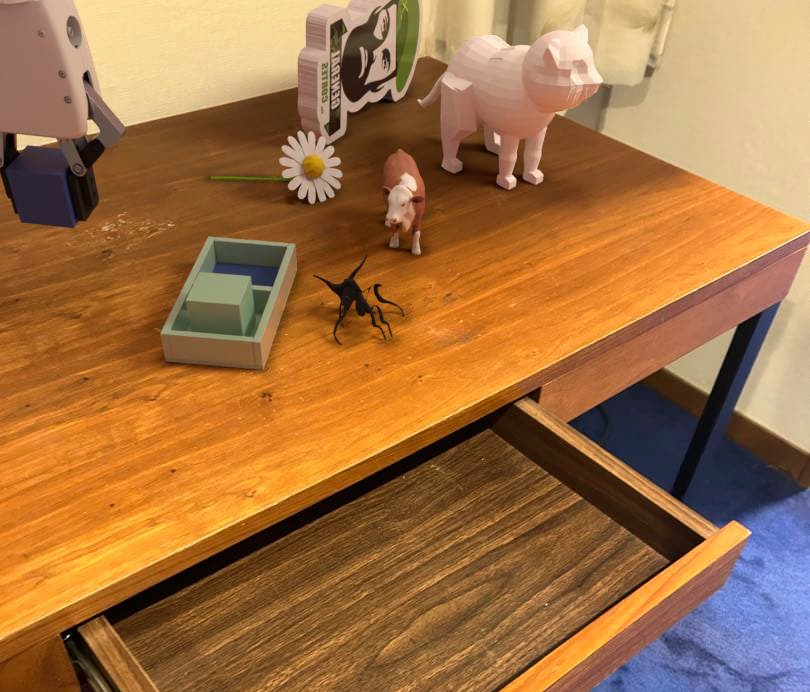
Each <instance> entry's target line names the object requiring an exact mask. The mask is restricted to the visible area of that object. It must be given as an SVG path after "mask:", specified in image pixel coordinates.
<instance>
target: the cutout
mask: <svg viewBox="0 0 810 692" xmlns="http://www.w3.org/2000/svg"><path fill="white" fill-rule="evenodd" d="M423 22H424V7H423V0H350V1H349V2H348V4H347V6H346V8H344V7H341V6H336V5H331V4H327V3H322V4H320V5H318V6H316V7H314V8H312V9H310V10H309V11H308V13H307V15H306V17H305V47H303V48H302V49H300V51H299V53H298V56H297V64H296V65H297V94H298V95H297V112H298V115H299V117H300V126H301V128H302V130H303V131H304V134H305V136H306V138H308V133H309V132H311V131H312V132H313V133H314V135H315V143H317V142H318V139H319V138H320V137H321V136H323V137H324V138H325V139H326V144H325V146H329V145H330V144H331V143H334V142H335V141H336V140H338V139H339V138H341V137H342V136H344V135H345V134H346V131H347V127H348V126H347V125H348V112H350V113H356V112H358V111H360V110H361V109H362V108H363V107H364V106H365V105H366V104H367V103H377V102H379V101H380V100H381V99H385V100H389V101H392V102H395V103H396V102H397V101H399V100H400V99H402V98H403V97H405V95H406V93H407V91H408V89H409V87H410V84H411V83H412V79H413V76H414V73H415V70H416V66H417V62H418V59H419V55H420V49H421V44H422V43H421V42H422V33H423Z"/></svg>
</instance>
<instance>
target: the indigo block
mask: <svg viewBox="0 0 810 692" xmlns="http://www.w3.org/2000/svg"><path fill="white" fill-rule="evenodd" d="M70 172H71V170H70V166H69V164H68V162H67V160H66V158H65V156H64V154H63V152H62V149H61V148H56V147H48V146H40V145H39V146H38V145H29V144H27V145H26V146H25V147H24V148H23V150H21V151H20V154H19V155H18V156H17V157H16V159H15V160H14V161H13V162H12V163H11V164H10V165H9V166H8V167H7V169H6V173H7V176H8V180H9V183H10V187H11V190H12V194H13V197H14V201H15V204H16V207H17V211H18V214H17V215H18V218H19V221H20V223H21V224H30V225H31V224H32V225H40V226H48V227H58V228H68V229H75V228H76V226H77V225H78V224H79V222H80V221H78V219H77V218H76V215H75V211H74V207H73V202H72V198H71V194H70V190H69V185H68V181H67V176H68V175H69V173H70Z"/></svg>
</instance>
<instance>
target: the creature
mask: <svg viewBox="0 0 810 692" xmlns="http://www.w3.org/2000/svg"><path fill="white" fill-rule="evenodd" d="M367 258H368V254H366V253H365V255H364V258H363V260H362V261H361V262H360V264H359V265H358V266H357V267H356V268H355V269H353V271H352V272H351V273H350V275H349V276H348V277H347V278H344V279H343V281H342V282H340V283H334V282H331V281H329V280H328V279H326V278H324V277H321V276H318V275H316V274H313V275H312V277H315V278H317V280H320V281H322V282H323V283H325V284H326V286H327V287H328V288H329V289H330V290H331V292H333V293H334V294H335V295H336V296H337V297H338V298H339V299H340V303H339V307H338V308H339V310H338V319H337V320H336V322H335V324H334V327H333V330H332V331H333V332H332V333H333V334H332V335H333V338H334V340H335V342H336V343H337V344H338V345H339V346H342V345H343V343H341V342H340V341H339V339H338V338H337V336H336V334H337V331H338V327H339V325H340V323H341V326H342V328H345V327H344V323H342V322H343V320H344V319H345V317H346V316H347V314H348V312H349V310H350V309H351V307H352V305H353V303H354V302H355V303H354V304H355V305H354V306H355V312H356V314H357V315H358V316H359V317H360V318H361V317H362V318H363V317H364V316H366V314H370V318H371V326H372V327H373V328H378V329H379V330H380V331H381V333H382V337H383V339H384V341H387V337H386V334H385V331H384V330H383V327H382V326H381V325H379V324H377V323H376V321H377V320H376V316H375V314H376V311H373V310H374V307H375V308H376V309H377V312H378V316H379V321H380V322H381V324H383V325H386V326H387V328H388V333H389V336H390V337H391V338H394V337H393V333H392V329H391V324H390V323H389V322H388V321H387V320H385V318H384V314H383V311H382V309H381V307H380V306H379V305H376V304H374V305H372V306H371V305H370V304H369V303H368V298H369V297H368V296H369V293H370V290H371V289H372V288H373V293H374V297H375V298H376V299H377V301H378V302H379V303H382V304H386V305H387V304H388V305H392V306H394V307H397V308H399V310H400V311H401V313H402V317H405V313H404V311H403V309H402V308H401V307H400V305H399V304H396V303H395V302H393V301H390V300H388V299H385V298H384V297H383V296H382V295H381V294H380V292H379V288H381V287H383V285H382V284H381V283H374V284H373V285H370V286H369V287H367V288H365V289H364V290H362V288H361V286H359V284H358V282H357V280H355V276H356V275H357V274H358V272H359V271H360V270H361V269H362V268H363V266H364V264H365V262H366V260H367ZM367 290H368V291H367ZM366 291H367V292H368V293H367V296H366V298H365V296H364V293H365V292H366ZM342 307H343V312H342Z"/></svg>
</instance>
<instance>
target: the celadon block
mask: <svg viewBox="0 0 810 692" xmlns="http://www.w3.org/2000/svg"><path fill="white" fill-rule="evenodd" d="M186 306H187V311H188V317H189V323H190V328H191V332H200V333H211V334H223V335H235V336H246V337H250V335H251V332H252V329H253V327H254V324H255V321H256V319H255V310H254V301H253V291H252V282H251V276H243V275H231V274H219V273H207V272H199V274H198V276H197V278H196V280H195V282H194V284H193V286H192V288H191V290H190V292H189V294H188V297H187V299H186Z"/></svg>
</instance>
